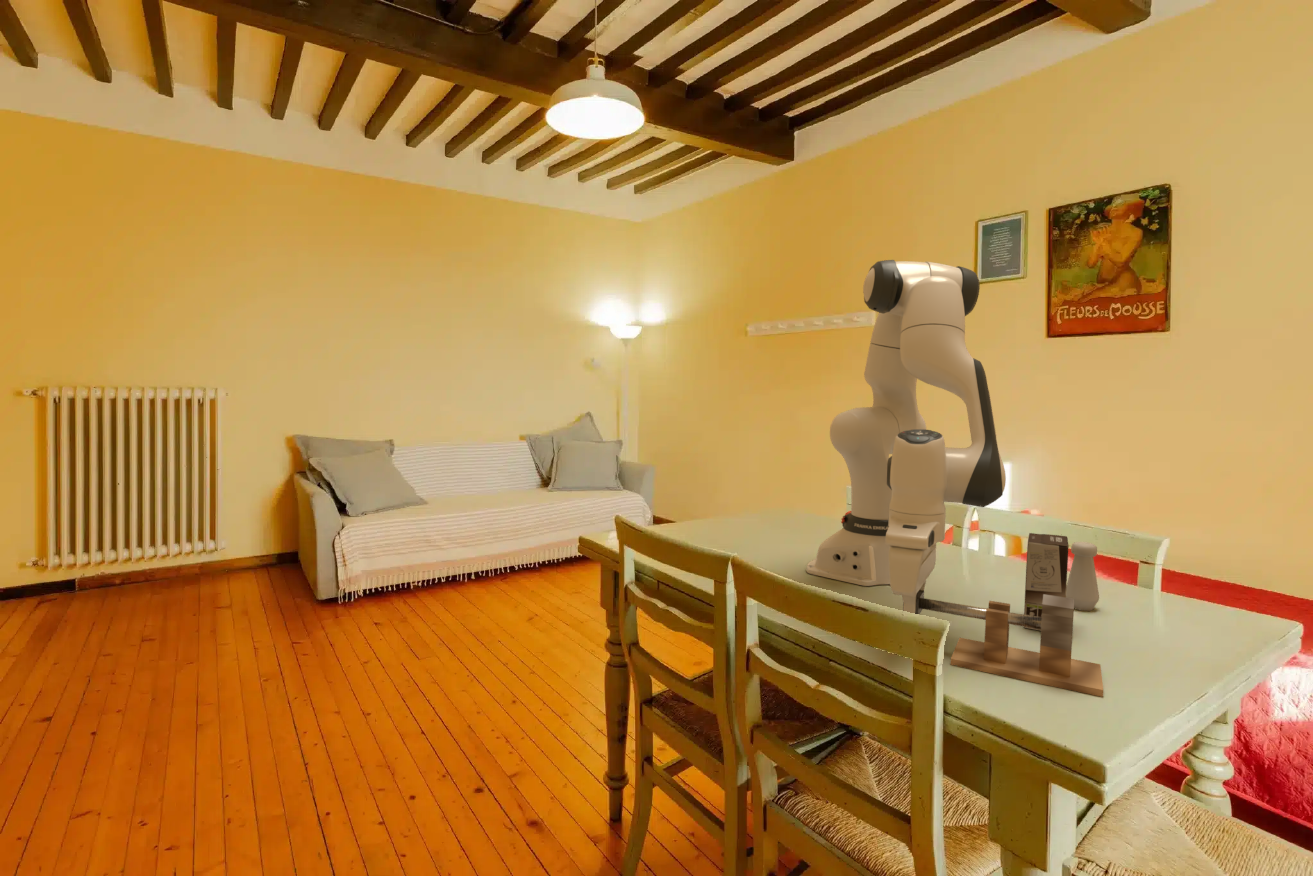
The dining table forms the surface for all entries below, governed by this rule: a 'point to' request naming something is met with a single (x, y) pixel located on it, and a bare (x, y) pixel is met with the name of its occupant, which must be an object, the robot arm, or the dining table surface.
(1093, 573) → the salt shaker
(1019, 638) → the dining table surface
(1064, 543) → the coffee box
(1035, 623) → the grey block-headed metal pin
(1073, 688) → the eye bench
